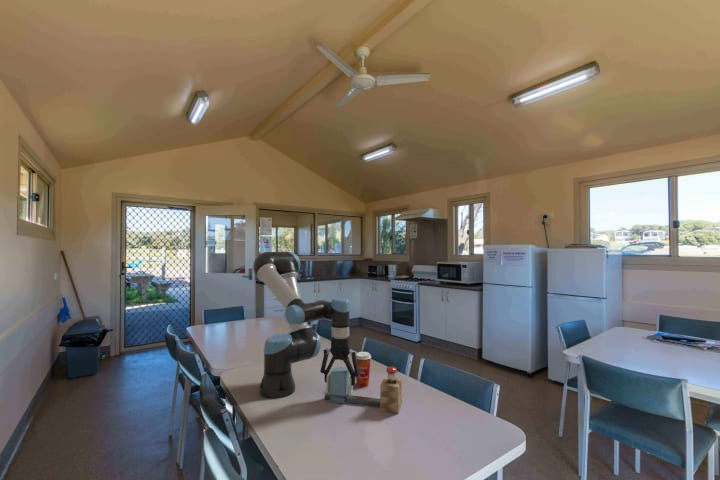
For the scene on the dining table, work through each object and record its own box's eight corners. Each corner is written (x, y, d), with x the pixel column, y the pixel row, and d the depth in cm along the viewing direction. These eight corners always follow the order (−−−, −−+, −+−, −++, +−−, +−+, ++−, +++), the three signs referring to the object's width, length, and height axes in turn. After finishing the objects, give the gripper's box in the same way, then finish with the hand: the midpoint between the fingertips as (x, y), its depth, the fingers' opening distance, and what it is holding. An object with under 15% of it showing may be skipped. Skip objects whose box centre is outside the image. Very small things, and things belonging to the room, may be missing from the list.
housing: (380, 411, 129) (380, 384, 130) (384, 401, 138) (385, 376, 138) (398, 413, 127) (398, 387, 128) (401, 403, 136) (401, 378, 136)
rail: (324, 399, 139) (324, 395, 139) (327, 396, 142) (327, 392, 142) (381, 407, 132) (381, 402, 132) (383, 404, 135) (383, 399, 135)
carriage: (330, 401, 136) (330, 371, 137) (335, 395, 142) (335, 366, 143) (344, 403, 135) (344, 373, 135) (348, 397, 141) (349, 368, 141)
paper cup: (351, 386, 153) (351, 355, 153) (359, 380, 160) (359, 350, 160) (366, 389, 149) (366, 357, 150) (374, 383, 156) (374, 353, 156)
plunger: (385, 385, 132) (385, 369, 132) (387, 381, 135) (387, 366, 136) (395, 386, 131) (395, 370, 131) (397, 382, 134) (397, 367, 135)
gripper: (312, 336, 139) (311, 392, 138) (363, 341, 133) (362, 398, 132) (319, 332, 146) (318, 385, 145) (367, 336, 140) (367, 391, 139)
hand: (339, 391), depth 139 cm, fingers open, 9 cm apart
